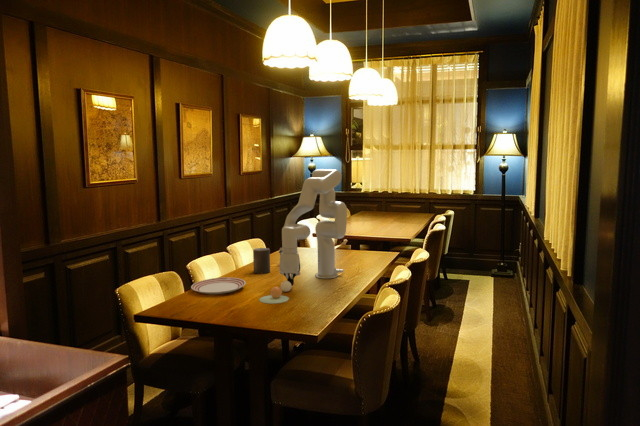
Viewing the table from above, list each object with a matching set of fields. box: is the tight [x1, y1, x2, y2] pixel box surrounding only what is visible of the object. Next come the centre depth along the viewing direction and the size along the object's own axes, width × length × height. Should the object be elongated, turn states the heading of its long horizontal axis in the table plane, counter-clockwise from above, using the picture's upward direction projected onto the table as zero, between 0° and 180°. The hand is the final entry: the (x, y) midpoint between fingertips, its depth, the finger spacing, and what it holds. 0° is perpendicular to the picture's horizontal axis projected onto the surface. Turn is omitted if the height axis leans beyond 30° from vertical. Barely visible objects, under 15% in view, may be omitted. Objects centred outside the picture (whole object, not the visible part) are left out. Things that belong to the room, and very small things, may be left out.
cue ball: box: [280, 280, 293, 293], centre depth 252 cm, size 6×6×6 cm
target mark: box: [258, 294, 290, 305], centre depth 239 cm, size 14×14×1 cm
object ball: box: [269, 286, 283, 298], centre depth 241 cm, size 6×6×6 cm
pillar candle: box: [252, 247, 271, 275], centre depth 295 cm, size 10×10×15 cm
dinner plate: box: [190, 277, 247, 295], centre depth 258 cm, size 28×27×3 cm
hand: (290, 285), depth 257 cm, fingers closed
